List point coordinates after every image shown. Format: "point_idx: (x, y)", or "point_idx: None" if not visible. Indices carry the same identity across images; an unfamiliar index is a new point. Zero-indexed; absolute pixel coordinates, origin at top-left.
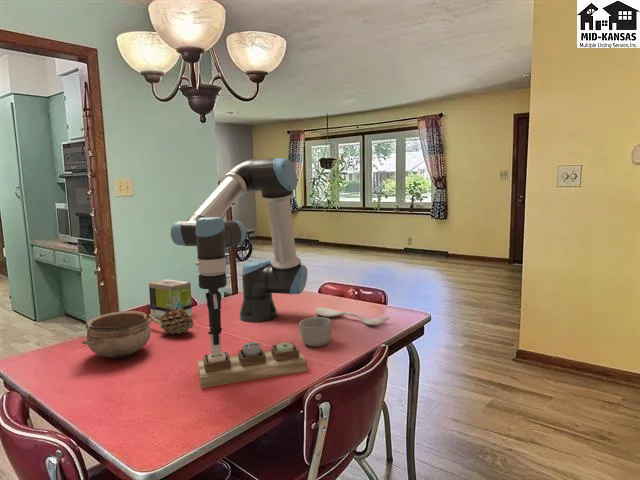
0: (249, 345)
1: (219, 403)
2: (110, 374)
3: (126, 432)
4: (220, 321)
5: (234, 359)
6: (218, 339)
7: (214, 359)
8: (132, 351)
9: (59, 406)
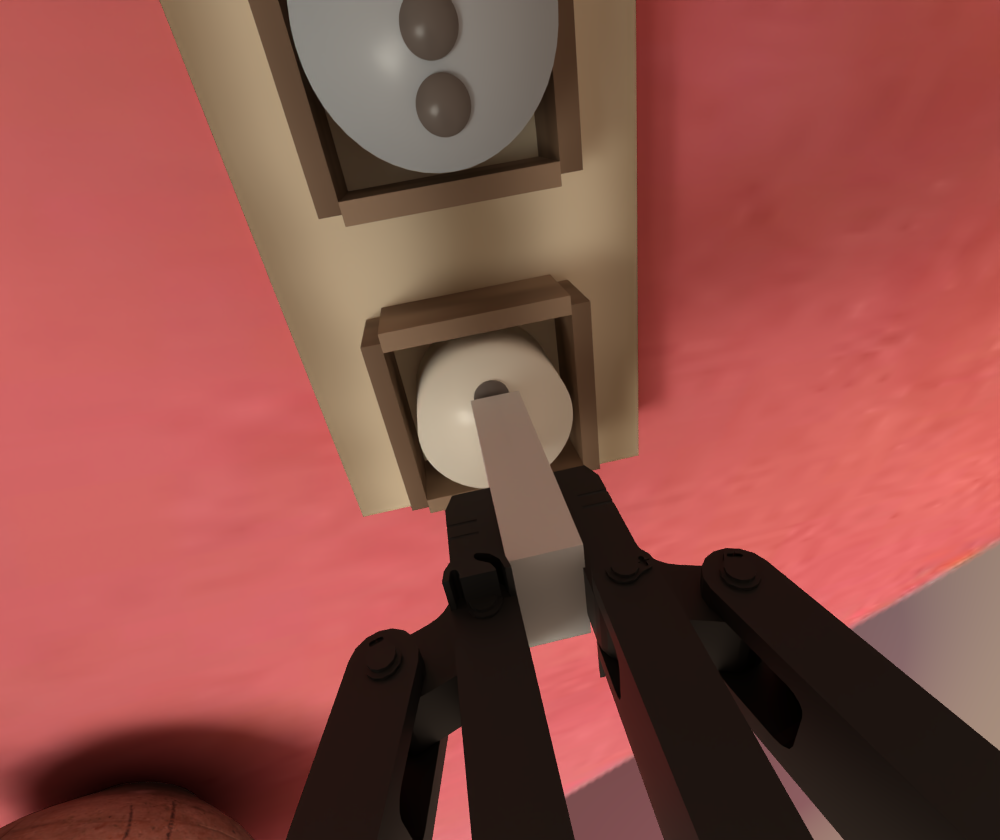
0: (433, 60)
1: (826, 304)
2: None
3: (846, 583)
4: (979, 740)
5: (361, 253)
6: (614, 507)
7: (568, 429)
8: (197, 807)
9: (592, 770)
